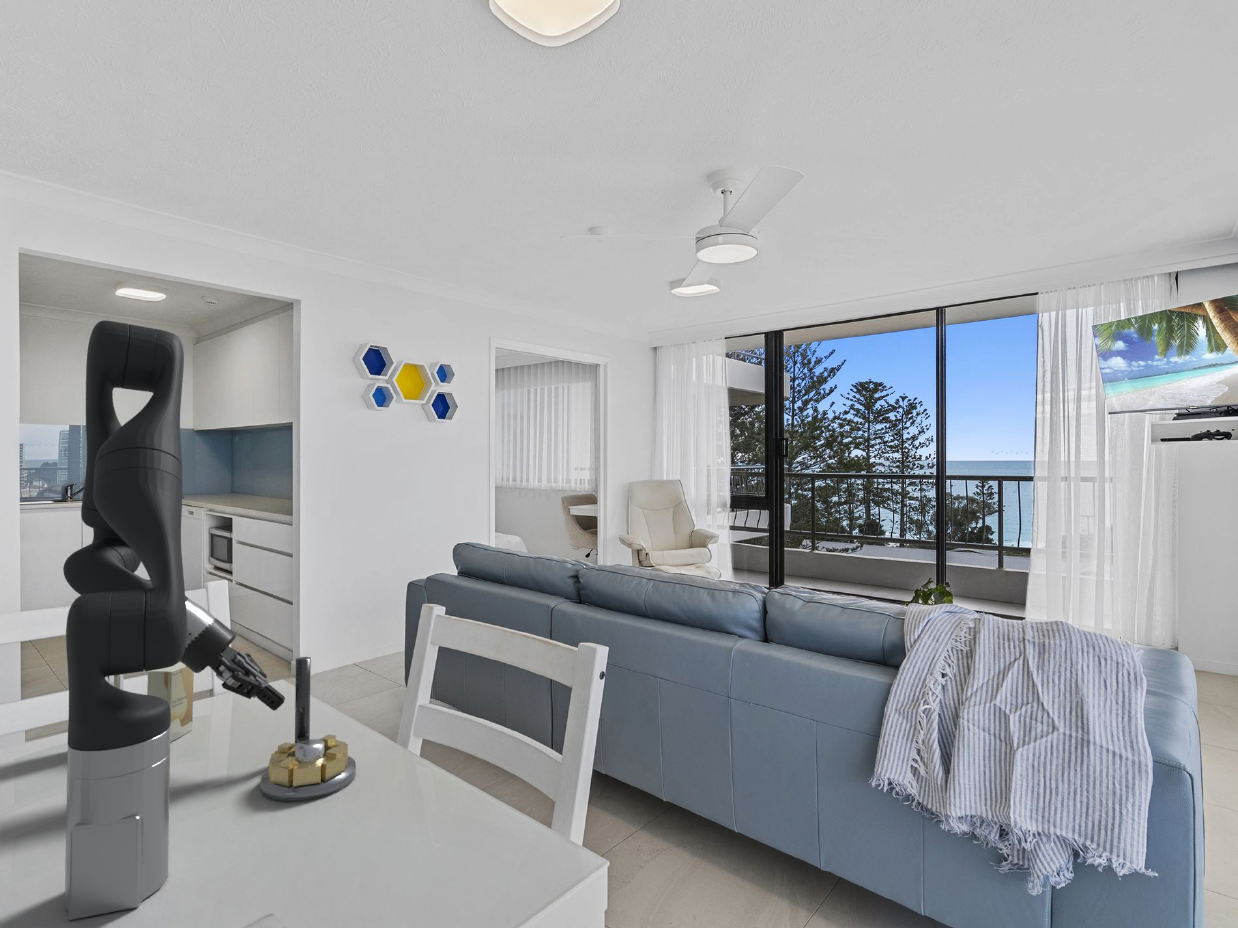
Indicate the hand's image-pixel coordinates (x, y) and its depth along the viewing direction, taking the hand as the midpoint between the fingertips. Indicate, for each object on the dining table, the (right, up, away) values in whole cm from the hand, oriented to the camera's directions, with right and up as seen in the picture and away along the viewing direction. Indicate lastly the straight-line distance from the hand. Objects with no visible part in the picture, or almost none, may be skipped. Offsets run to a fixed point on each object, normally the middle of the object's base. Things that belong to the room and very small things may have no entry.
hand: (280, 704), depth 108 cm
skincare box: (-24, -9, +9) cm, 27 cm away
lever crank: (+7, -7, -5) cm, 11 cm away
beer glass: (-33, -9, +3) cm, 34 cm away
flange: (+8, -9, -7) cm, 14 cm away
